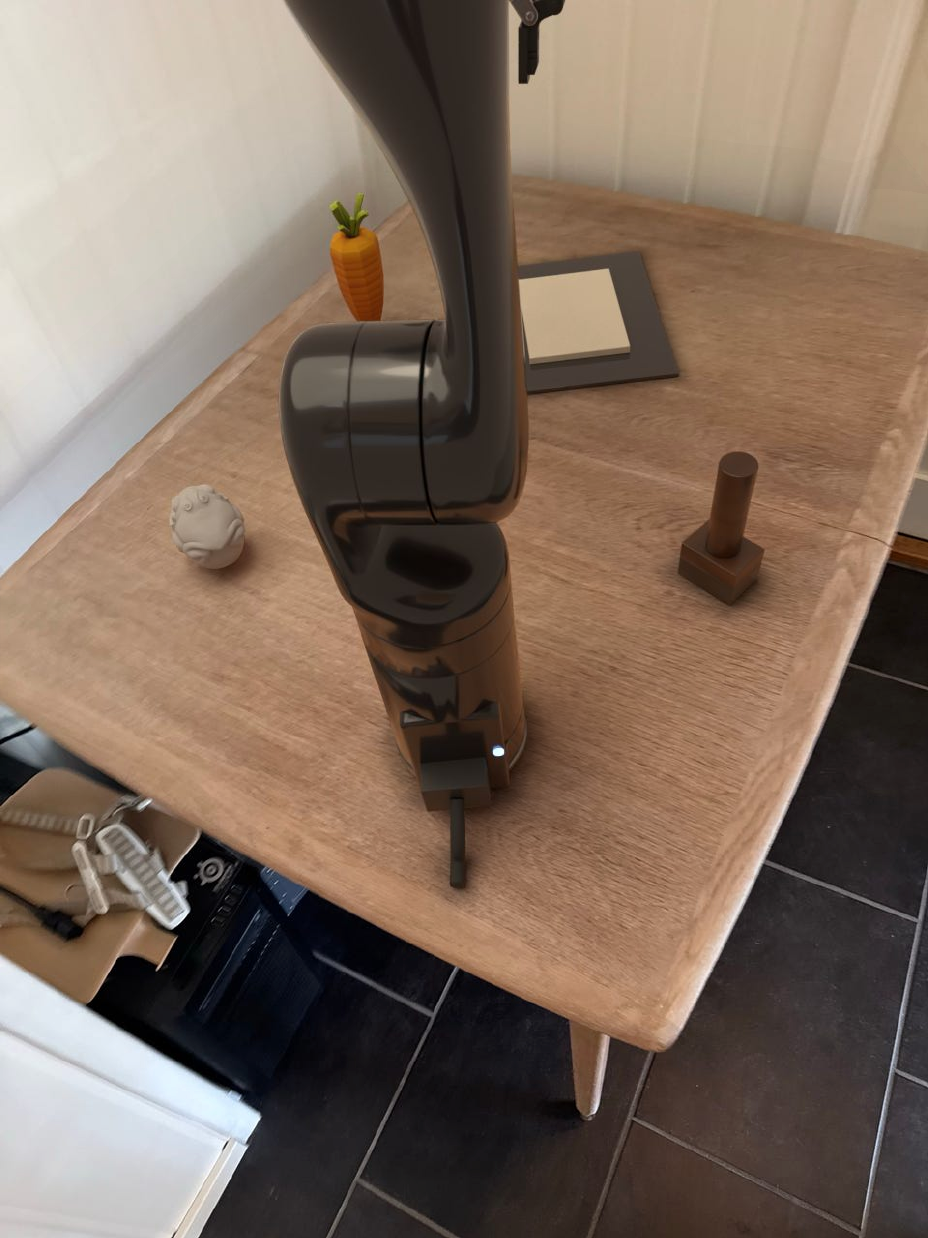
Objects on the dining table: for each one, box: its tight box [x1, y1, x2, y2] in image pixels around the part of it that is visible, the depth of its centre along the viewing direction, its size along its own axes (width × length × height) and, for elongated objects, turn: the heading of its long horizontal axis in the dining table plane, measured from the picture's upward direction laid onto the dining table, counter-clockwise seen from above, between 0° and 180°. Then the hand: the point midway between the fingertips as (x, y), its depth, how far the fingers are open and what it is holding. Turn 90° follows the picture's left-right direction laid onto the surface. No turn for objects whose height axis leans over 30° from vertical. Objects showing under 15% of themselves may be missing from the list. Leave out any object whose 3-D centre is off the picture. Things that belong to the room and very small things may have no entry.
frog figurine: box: [169, 483, 246, 570], centre depth 74 cm, size 6×7×7 cm
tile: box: [518, 250, 680, 395], centre depth 91 cm, size 22×18×1 cm
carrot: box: [329, 192, 385, 322], centre depth 88 cm, size 5×5×15 cm
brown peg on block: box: [677, 450, 765, 606], centre depth 65 cm, size 5×4×12 cm
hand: (469, 81), depth 68 cm, fingers open, 8 cm apart
